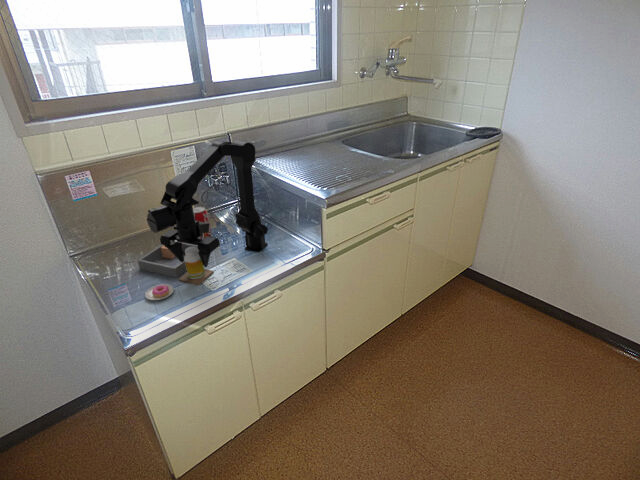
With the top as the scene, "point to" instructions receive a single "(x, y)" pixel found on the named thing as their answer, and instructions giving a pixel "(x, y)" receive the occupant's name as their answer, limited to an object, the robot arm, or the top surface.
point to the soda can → (202, 219)
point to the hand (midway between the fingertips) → (194, 264)
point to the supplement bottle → (193, 263)
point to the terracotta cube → (167, 252)
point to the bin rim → (149, 265)
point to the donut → (159, 292)
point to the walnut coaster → (196, 281)
